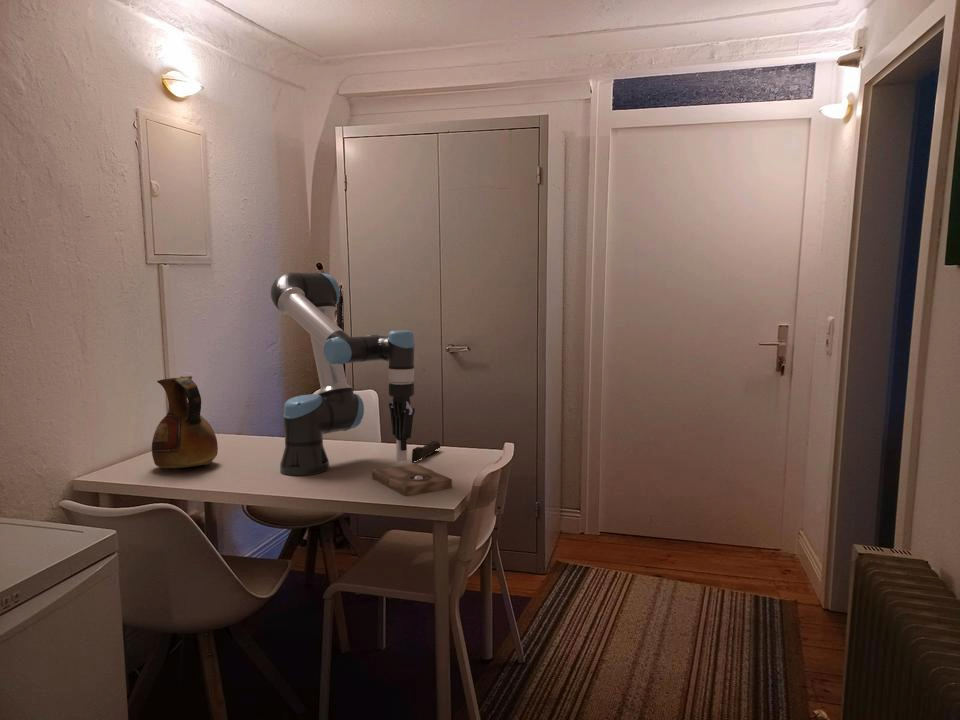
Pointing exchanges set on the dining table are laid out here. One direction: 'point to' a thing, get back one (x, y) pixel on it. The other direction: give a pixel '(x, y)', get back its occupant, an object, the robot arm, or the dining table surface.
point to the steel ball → (418, 477)
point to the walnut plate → (411, 479)
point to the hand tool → (424, 450)
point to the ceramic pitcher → (183, 428)
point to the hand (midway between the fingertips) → (401, 460)
